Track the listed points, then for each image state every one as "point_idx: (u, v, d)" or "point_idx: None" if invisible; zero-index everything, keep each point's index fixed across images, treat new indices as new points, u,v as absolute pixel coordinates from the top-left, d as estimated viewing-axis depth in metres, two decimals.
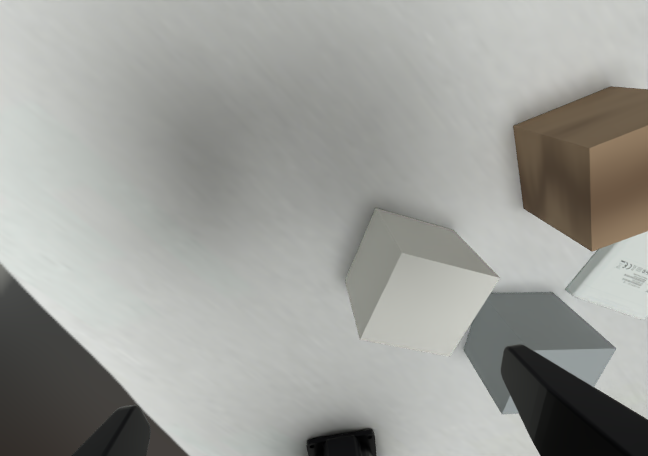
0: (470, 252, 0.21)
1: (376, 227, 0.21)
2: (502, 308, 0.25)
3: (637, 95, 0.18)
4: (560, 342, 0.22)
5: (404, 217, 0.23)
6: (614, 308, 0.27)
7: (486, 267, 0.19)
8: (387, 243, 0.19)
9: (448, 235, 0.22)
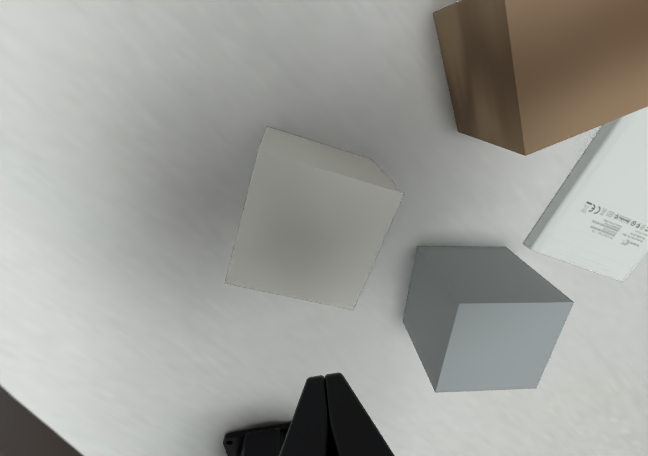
0: (378, 173, 0.16)
1: None
2: (438, 260, 0.20)
3: None
4: (502, 295, 0.17)
5: (304, 139, 0.18)
6: (584, 266, 0.22)
7: (390, 184, 0.14)
8: None
9: (358, 159, 0.18)
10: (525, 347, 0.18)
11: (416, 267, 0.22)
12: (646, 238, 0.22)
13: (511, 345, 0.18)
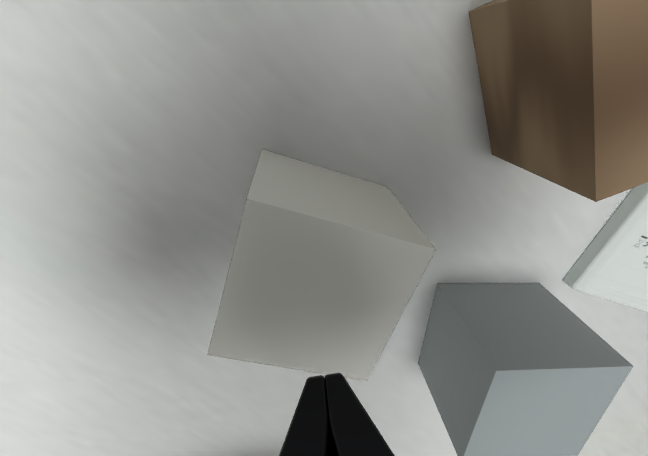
0: (399, 213, 0.13)
1: None
2: (464, 305, 0.17)
3: None
4: (546, 356, 0.14)
5: (307, 164, 0.15)
6: (632, 304, 0.19)
7: (417, 233, 0.11)
8: None
9: (373, 191, 0.14)
10: (570, 414, 0.15)
11: (436, 307, 0.19)
12: None
13: (554, 413, 0.15)
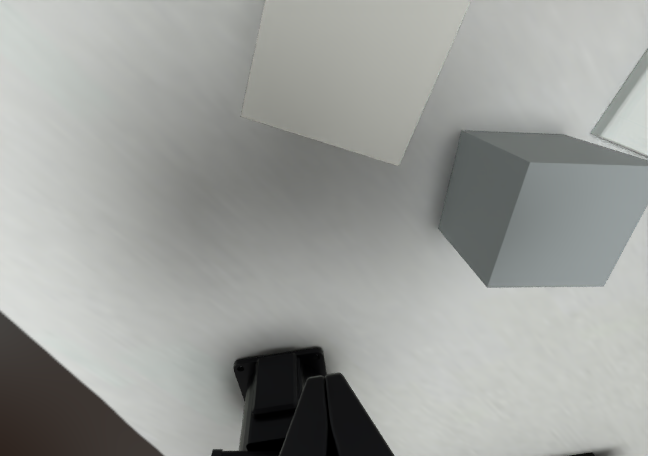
0: None
1: None
2: (491, 138, 0.17)
3: None
4: (579, 159, 0.14)
5: None
6: None
7: None
8: None
9: None
10: (599, 229, 0.15)
11: (460, 156, 0.19)
12: None
13: (584, 225, 0.15)
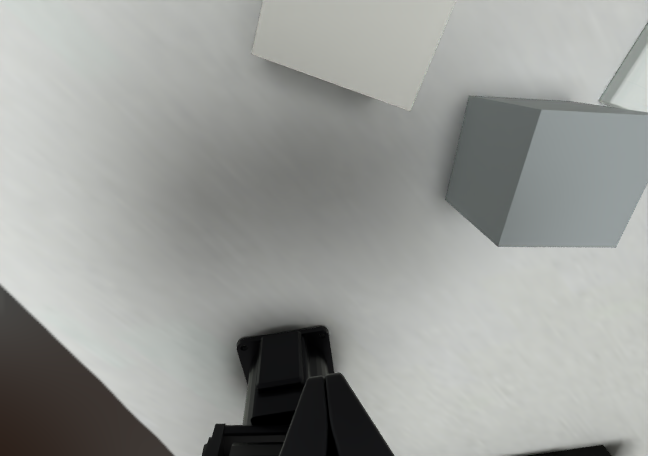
0: None
1: None
2: (499, 100, 0.17)
3: None
4: (590, 110, 0.14)
5: None
6: None
7: None
8: None
9: None
10: (612, 184, 0.15)
11: (467, 121, 0.18)
12: None
13: (596, 180, 0.15)
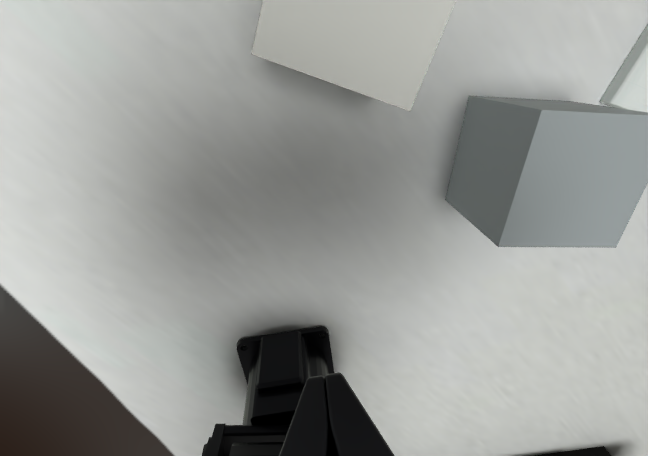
0: None
1: None
2: (499, 100, 0.17)
3: None
4: (590, 110, 0.14)
5: None
6: None
7: None
8: None
9: None
10: (611, 184, 0.15)
11: (467, 121, 0.18)
12: None
13: (596, 180, 0.15)
